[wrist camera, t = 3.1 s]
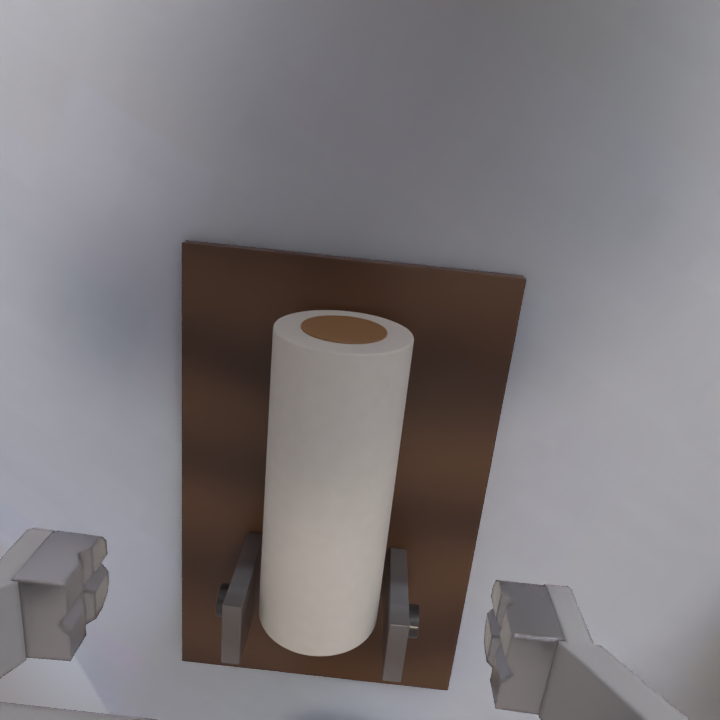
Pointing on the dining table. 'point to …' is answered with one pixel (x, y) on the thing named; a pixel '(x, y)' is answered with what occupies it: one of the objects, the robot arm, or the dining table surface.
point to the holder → (415, 461)
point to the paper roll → (330, 475)
